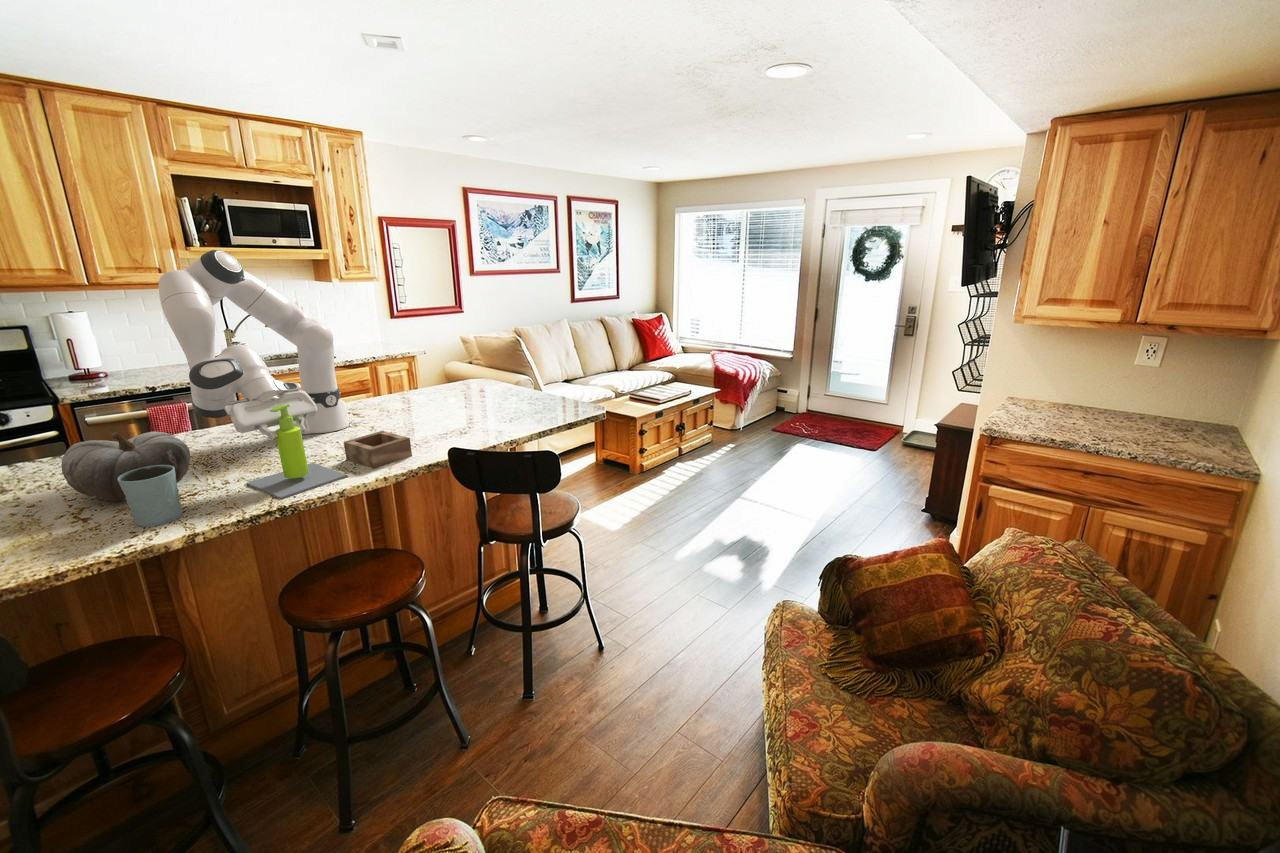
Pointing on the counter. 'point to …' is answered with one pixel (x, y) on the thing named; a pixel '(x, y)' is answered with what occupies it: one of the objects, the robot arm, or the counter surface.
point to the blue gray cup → (152, 494)
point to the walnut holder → (377, 449)
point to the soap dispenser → (290, 445)
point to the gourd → (120, 462)
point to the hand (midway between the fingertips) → (289, 435)
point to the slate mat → (296, 481)
